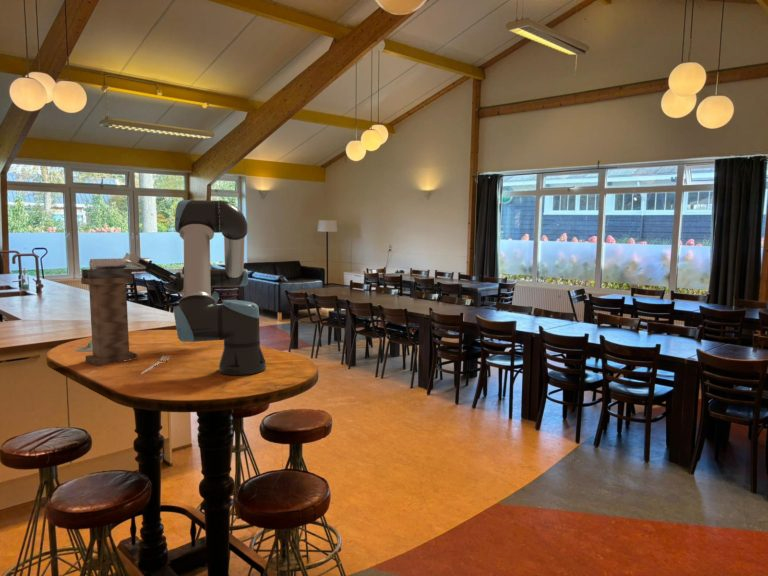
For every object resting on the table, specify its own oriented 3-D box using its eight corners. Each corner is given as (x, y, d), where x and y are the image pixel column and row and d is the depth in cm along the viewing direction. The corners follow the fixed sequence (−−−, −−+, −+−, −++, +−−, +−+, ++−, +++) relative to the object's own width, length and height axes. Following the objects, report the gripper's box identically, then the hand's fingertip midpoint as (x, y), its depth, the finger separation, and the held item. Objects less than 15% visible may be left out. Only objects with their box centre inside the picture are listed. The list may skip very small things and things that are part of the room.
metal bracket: (92, 331, 219) (128, 331, 219) (95, 344, 221) (131, 344, 221) (73, 348, 205) (111, 348, 205) (76, 361, 208) (114, 361, 207)
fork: (136, 376, 173) (135, 370, 172) (161, 360, 192) (161, 355, 192) (146, 376, 173) (145, 370, 172) (170, 360, 192) (170, 355, 192)
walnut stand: (126, 355, 200) (122, 267, 197) (136, 359, 193) (132, 268, 190) (85, 361, 190) (80, 269, 187) (95, 365, 183) (90, 270, 180)
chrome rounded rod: (147, 268, 201) (146, 257, 201) (151, 268, 198) (151, 258, 198) (89, 270, 187) (89, 258, 186) (93, 270, 184) (93, 259, 183)
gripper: (188, 294, 202) (131, 266, 187) (168, 291, 214) (114, 264, 198) (196, 277, 204) (141, 247, 189) (177, 275, 216) (123, 247, 201)
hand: (127, 256), depth 194 cm, fingers closed on chrome rounded rod, 4 cm apart
